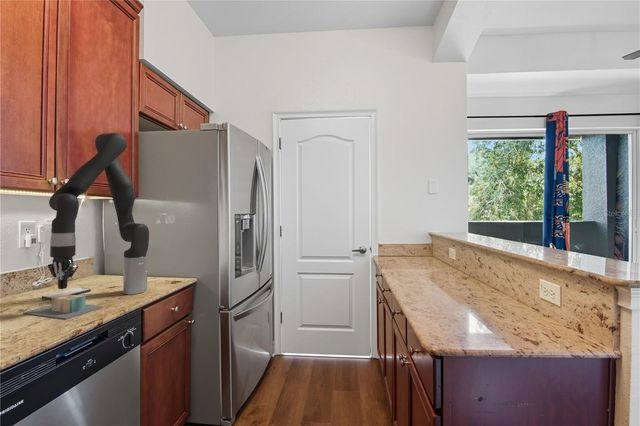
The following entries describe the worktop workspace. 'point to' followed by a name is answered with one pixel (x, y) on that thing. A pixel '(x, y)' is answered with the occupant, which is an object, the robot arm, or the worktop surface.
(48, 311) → the slate mat
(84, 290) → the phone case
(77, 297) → the maple block
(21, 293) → the worktop surface
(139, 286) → the robot arm
